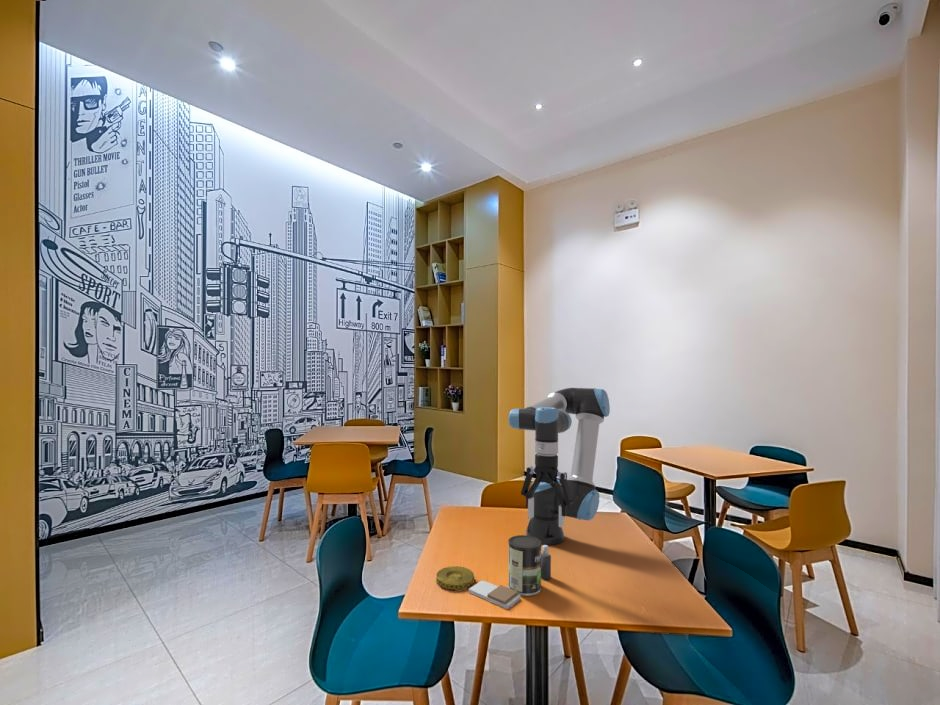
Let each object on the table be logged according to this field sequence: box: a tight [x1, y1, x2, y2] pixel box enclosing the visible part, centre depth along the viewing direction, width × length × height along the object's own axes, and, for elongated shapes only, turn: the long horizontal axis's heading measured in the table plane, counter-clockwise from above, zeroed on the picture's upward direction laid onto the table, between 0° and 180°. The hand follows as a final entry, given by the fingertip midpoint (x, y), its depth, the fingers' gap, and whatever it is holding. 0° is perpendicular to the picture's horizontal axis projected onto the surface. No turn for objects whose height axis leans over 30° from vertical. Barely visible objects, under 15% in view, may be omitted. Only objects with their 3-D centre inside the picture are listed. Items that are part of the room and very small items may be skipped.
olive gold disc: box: [435, 565, 475, 592], centre depth 131 cm, size 12×12×2 cm
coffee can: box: [507, 534, 542, 597], centre depth 128 cm, size 10×10×14 cm
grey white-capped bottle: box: [541, 544, 552, 581], centre depth 134 cm, size 3×3×10 cm
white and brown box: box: [468, 580, 522, 610], centre depth 122 cm, size 7×14×2 cm, turn 52°
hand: (545, 521), depth 135 cm, fingers open, 10 cm apart
